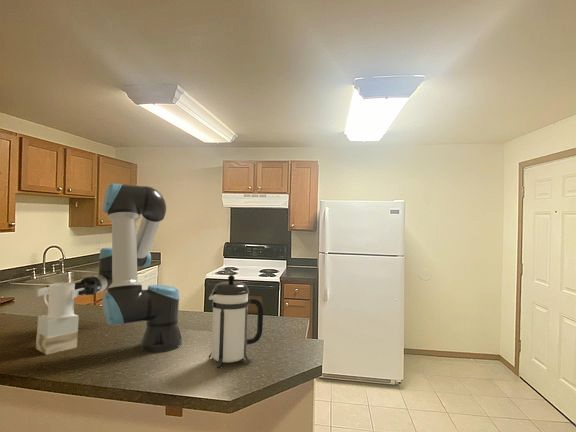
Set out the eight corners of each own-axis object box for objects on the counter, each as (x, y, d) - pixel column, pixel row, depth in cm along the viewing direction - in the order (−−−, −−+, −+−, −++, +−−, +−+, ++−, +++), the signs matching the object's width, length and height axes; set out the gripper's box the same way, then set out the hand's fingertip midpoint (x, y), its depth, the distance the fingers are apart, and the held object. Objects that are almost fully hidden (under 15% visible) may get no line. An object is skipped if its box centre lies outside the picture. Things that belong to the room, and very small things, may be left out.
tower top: (77, 331, 128) (78, 315, 128) (47, 337, 120) (48, 320, 120) (67, 326, 134) (68, 311, 134) (37, 332, 126) (38, 316, 126)
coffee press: (240, 373, 107) (242, 279, 109) (197, 365, 113) (201, 275, 114) (262, 355, 124) (264, 273, 125) (224, 349, 129) (227, 270, 131)
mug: (34, 317, 124) (36, 284, 125) (55, 312, 132) (57, 281, 133) (59, 320, 121) (60, 286, 122) (79, 314, 129) (81, 283, 130)
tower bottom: (76, 347, 127) (77, 331, 128) (46, 355, 119) (47, 338, 119) (65, 342, 133) (66, 326, 133) (35, 348, 125) (36, 332, 125)
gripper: (119, 294, 144) (85, 305, 123) (66, 292, 147) (23, 302, 126) (120, 277, 145) (86, 284, 124) (67, 275, 147) (24, 282, 126)
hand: (54, 293), depth 125 cm, fingers open, 13 cm apart
